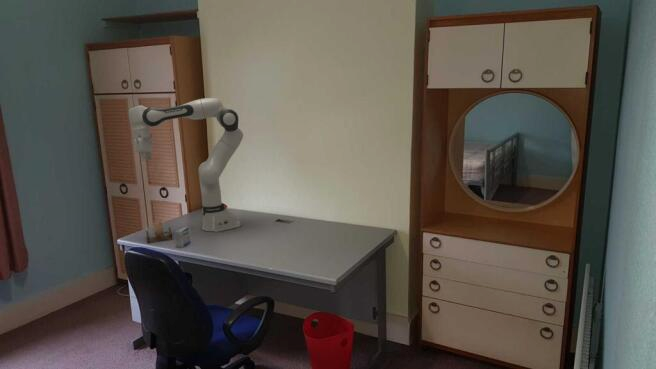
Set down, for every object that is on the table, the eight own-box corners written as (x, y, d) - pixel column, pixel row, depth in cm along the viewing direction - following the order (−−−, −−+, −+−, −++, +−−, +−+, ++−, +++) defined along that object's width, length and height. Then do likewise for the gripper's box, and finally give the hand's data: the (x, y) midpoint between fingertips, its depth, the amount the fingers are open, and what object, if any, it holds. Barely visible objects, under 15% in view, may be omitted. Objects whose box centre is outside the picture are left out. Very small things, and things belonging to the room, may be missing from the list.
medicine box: (183, 247, 243) (181, 231, 242) (175, 247, 244) (173, 231, 242) (190, 242, 251) (188, 227, 249) (183, 242, 252) (181, 226, 250)
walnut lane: (170, 232, 270) (170, 227, 269) (172, 239, 257) (172, 234, 256) (146, 235, 265) (146, 230, 264) (147, 243, 252) (146, 238, 251)
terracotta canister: (163, 237, 261) (161, 220, 259) (164, 239, 257) (162, 222, 255) (155, 238, 259) (153, 221, 257) (155, 241, 255) (153, 223, 253)
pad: (165, 227, 278) (165, 227, 278) (167, 232, 269) (166, 231, 269) (153, 229, 276) (153, 229, 276) (154, 234, 267) (154, 233, 267)
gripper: (141, 134, 244) (147, 159, 245) (152, 134, 264) (157, 158, 266) (129, 136, 244) (135, 162, 245) (141, 136, 264) (146, 160, 265)
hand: (147, 160), depth 255 cm, fingers open, 8 cm apart
